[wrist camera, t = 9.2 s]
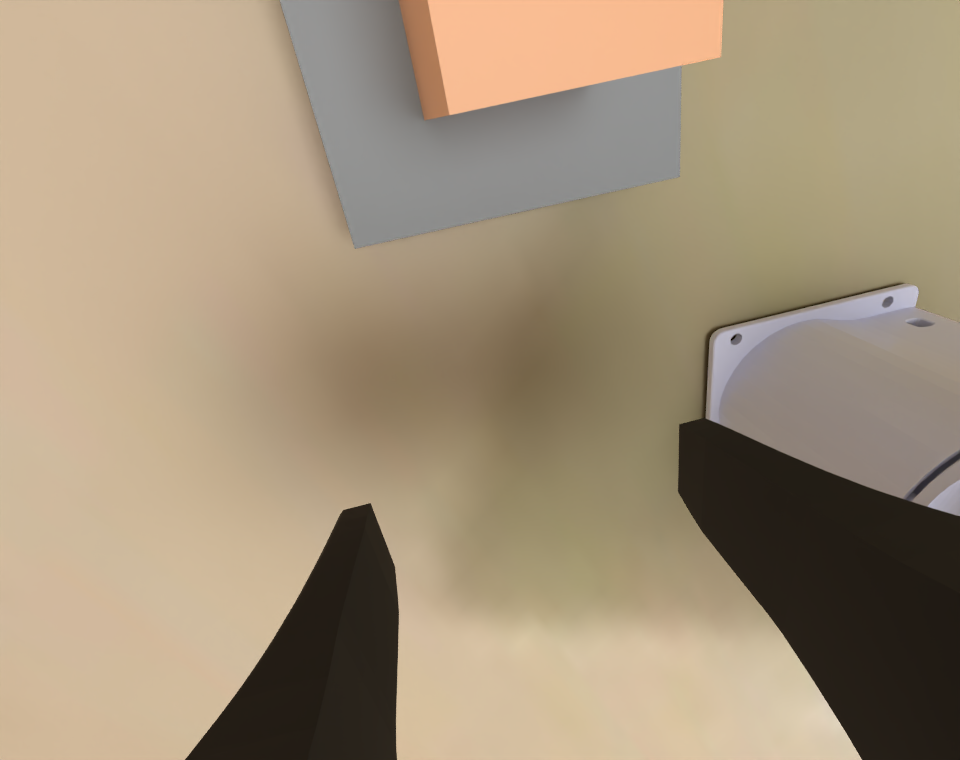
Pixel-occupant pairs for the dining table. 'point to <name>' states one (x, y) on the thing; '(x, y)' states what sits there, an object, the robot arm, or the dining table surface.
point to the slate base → (465, 131)
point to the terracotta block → (547, 45)
